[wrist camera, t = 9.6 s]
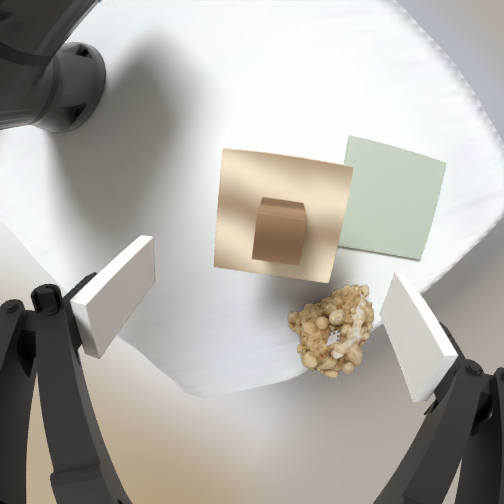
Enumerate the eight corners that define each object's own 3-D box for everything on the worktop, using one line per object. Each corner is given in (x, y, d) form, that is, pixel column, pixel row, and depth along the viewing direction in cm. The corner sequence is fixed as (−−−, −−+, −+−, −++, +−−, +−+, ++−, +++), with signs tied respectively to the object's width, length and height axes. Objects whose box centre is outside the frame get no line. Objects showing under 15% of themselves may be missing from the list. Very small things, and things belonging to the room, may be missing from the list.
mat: (348, 135, 34) (349, 135, 33) (444, 162, 33) (446, 162, 33) (328, 242, 40) (328, 243, 40) (419, 258, 39) (420, 259, 39)
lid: (224, 147, 24) (207, 153, 19) (351, 166, 23) (370, 177, 18) (215, 263, 28) (200, 294, 23) (327, 279, 28) (335, 313, 23)
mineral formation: (279, 308, 45) (275, 380, 32) (347, 255, 41) (373, 317, 27) (312, 337, 47) (317, 408, 33) (377, 290, 42) (407, 355, 29)
